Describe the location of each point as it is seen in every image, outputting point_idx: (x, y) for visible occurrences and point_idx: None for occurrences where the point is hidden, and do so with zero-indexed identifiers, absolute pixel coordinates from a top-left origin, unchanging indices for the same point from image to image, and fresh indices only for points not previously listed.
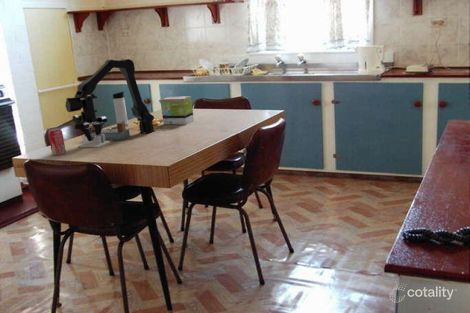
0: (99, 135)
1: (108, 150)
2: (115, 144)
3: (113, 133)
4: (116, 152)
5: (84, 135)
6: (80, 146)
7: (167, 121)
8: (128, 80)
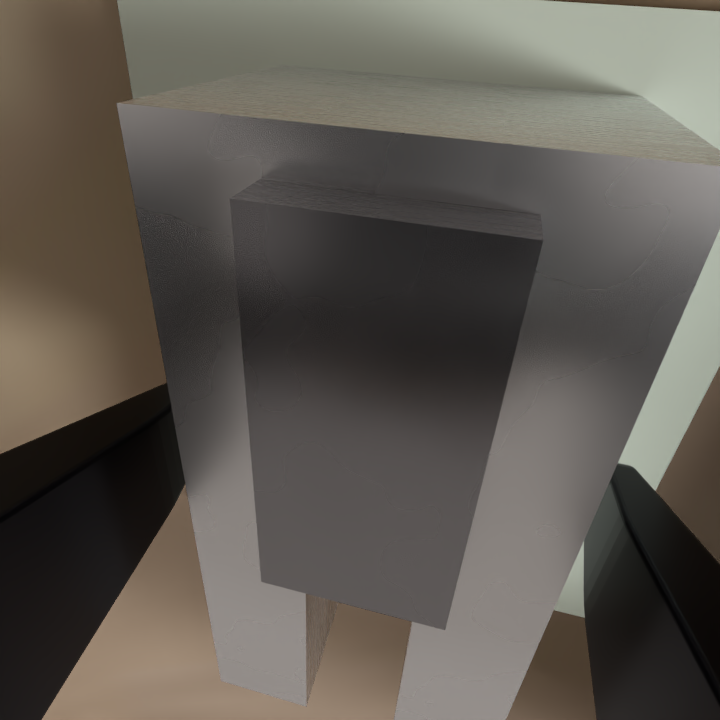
0: (405, 664)
1: (90, 648)
2: (374, 673)
3: None
4: (58, 704)
5: (242, 202)
6: (142, 65)
7: None
8: None
